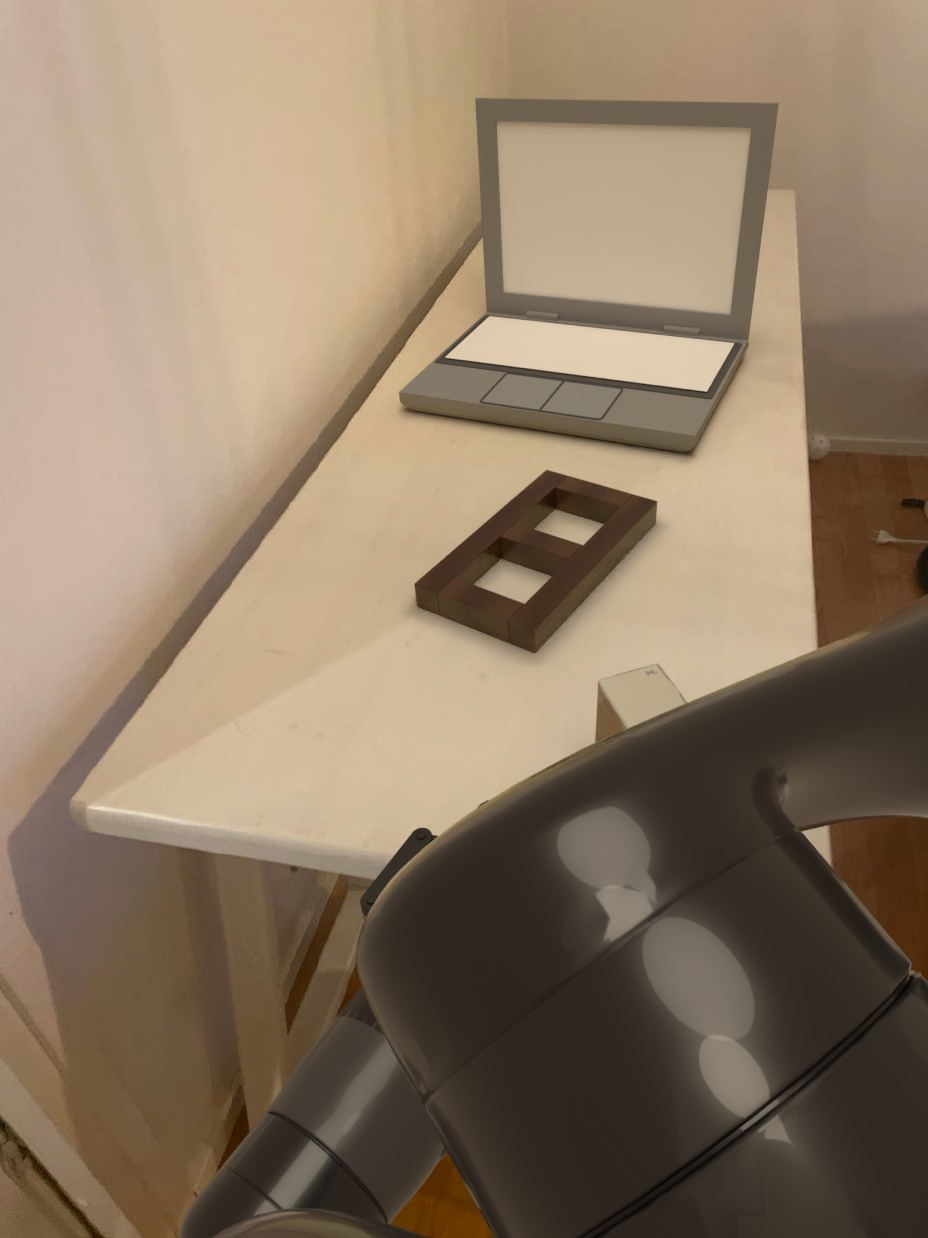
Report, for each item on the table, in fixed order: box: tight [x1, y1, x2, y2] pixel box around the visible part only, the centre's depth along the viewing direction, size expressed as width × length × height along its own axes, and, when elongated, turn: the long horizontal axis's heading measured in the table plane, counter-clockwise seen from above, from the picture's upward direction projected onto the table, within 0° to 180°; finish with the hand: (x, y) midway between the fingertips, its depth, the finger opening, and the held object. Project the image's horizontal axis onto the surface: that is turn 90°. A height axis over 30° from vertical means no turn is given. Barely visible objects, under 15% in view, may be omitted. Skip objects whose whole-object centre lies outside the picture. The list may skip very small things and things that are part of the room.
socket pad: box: [413, 469, 658, 653], centre depth 85 cm, size 12×22×2 cm, turn 145°
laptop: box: [398, 97, 780, 453], centre depth 105 cm, size 35×26×28 cm
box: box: [594, 662, 689, 743], centre depth 60 cm, size 5×4×11 cm
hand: (568, 838), depth 53 cm, fingers open, 8 cm apart
